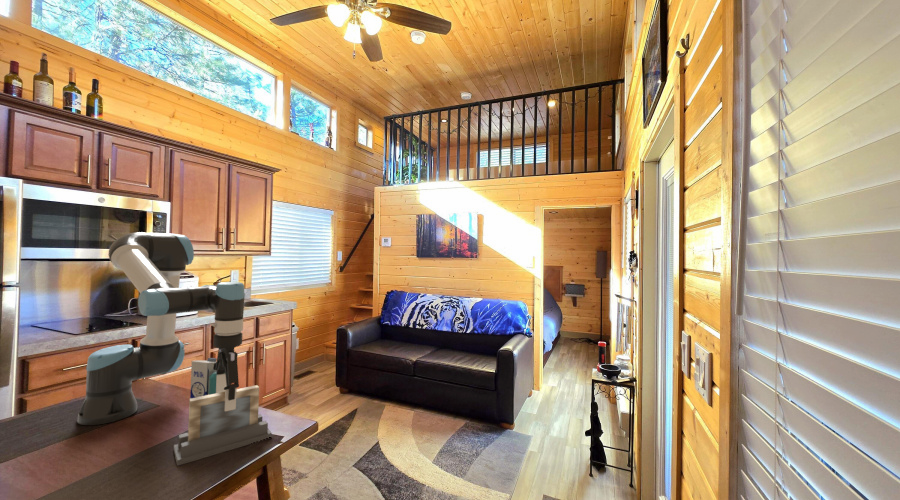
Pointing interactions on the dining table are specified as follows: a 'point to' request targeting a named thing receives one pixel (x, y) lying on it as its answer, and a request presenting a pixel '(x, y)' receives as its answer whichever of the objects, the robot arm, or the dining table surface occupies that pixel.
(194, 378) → the milk carton
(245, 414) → the picture frame
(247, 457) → the dining table surface
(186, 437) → the display stand
